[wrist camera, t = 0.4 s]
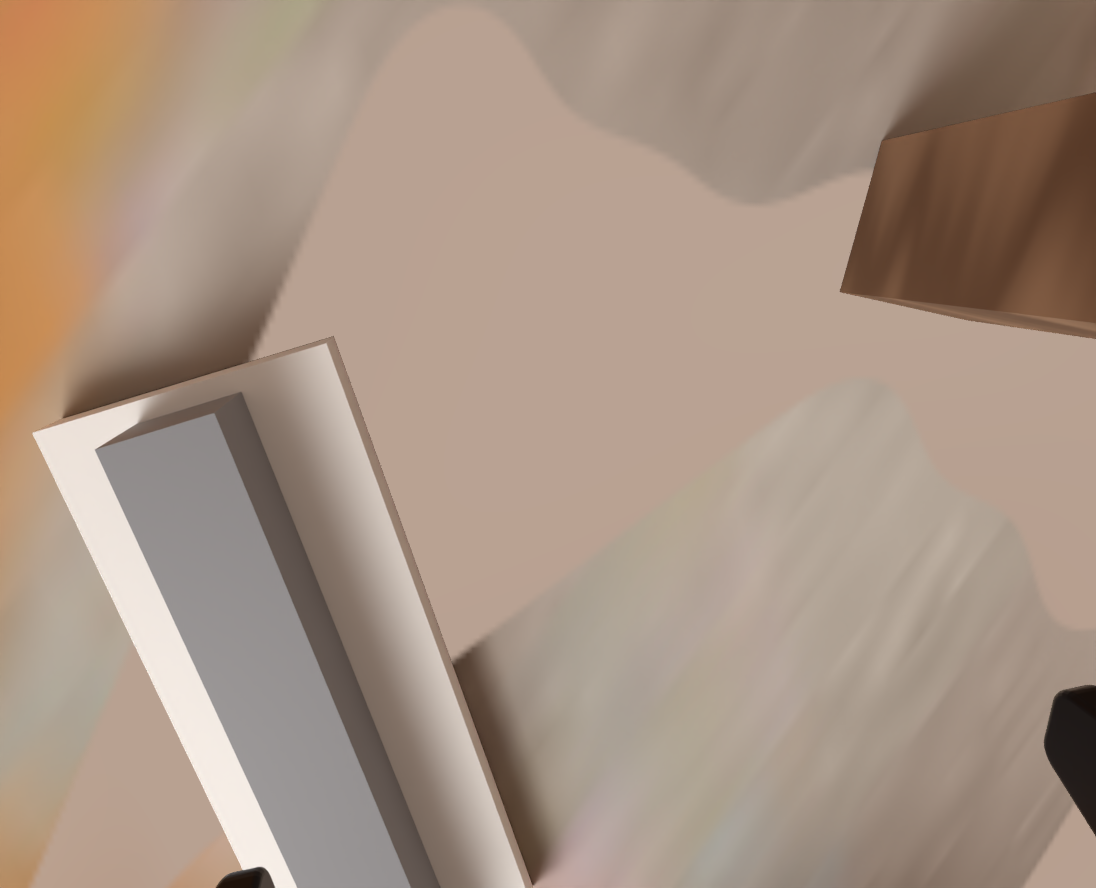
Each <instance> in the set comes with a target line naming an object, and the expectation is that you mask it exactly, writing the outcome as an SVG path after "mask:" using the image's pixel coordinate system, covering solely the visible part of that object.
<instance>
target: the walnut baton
mask: <svg viewBox="0 0 1096 888" xmlns="http://www.w3.org/2000/svg"><path fill="white" fill-rule="evenodd" d="M840 292H842V293H846V294H851V295H855V296H860V297H865V298H870V299H874V300H878V301H883V302H887V303H892V304H896V305H901V306H906V307H910V308H914V309H919V310H924V311H928V312H932V313H937V314H941V315H946V316H951V317H955V318H960V319H964V320H969V321H976V322H984V323H990V324H997V325H1004V326H1010V327H1017V328H1024V329H1031V330H1038V331H1045V332H1052V333H1059V334H1066V335H1072V336H1080V337H1086V338H1093V339H1096V93H1092V94H1087V95H1083V96H1078V97H1074V98H1069V99H1065V100H1061V101H1056V102H1052V103H1047V104H1043V105H1038V106H1034V107H1029V108H1025V109H1021V110H1016V111H1012V112H1007V113H1003V114H998V115H994V116H990V117H985V118H981V119H976V120H972V121H967V122H963V123H959V124H954V125H950V126H945V127H941V128H936V129H932V130H927V131H923V132H919V133H914V134H910V135H905V136H901V137H896V138H892V139H888V140H883V141H882V142H881V146H880V150H879V153H878V157H877V160H876V164H875V167H874V171H873V175H872V178H871V182H870V185H869V189H868V193H867V196H866V200H865V203H864V207H863V210H862V214H861V218H860V221H859V225H858V228H857V232H856V236H855V240H854V243H853V246H852V250H851V254H850V257H849V261H848V264H847V268H846V271H845V275H844V279H843V282H842V286H841V289H840Z"/></svg>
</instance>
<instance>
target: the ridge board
mask: <svg viewBox="0 0 1096 888" xmlns="http://www.w3.org/2000/svg"><path fill="white" fill-rule="evenodd" d="M33 436H34V438H35V440H36V442H37V444H38V446H39V448H40V450H41V452H42V454H43V456H44V458H45V460H46V463H47V465H48V467H49V469H50V471H51V473H52V475H53V477H54V479H55V481H56V483H57V485H58V487H59V489H60V492H61V494H62V496H63V498H64V500H65V502H66V504H67V506H68V508H69V510H70V512H71V514H72V516H73V519H74V521H75V523H76V525H77V527H78V529H79V531H80V533H81V535H82V537H83V539H84V541H85V543H86V545H87V548H88V550H89V552H90V554H91V556H92V558H93V560H94V562H95V564H96V566H97V568H98V570H99V572H100V575H101V577H102V579H103V581H104V583H105V585H106V587H107V589H108V591H109V593H110V595H111V597H112V599H113V601H114V604H115V606H116V608H117V610H118V612H119V614H120V616H121V618H122V620H123V622H124V624H125V626H126V628H127V631H128V633H129V635H130V637H131V639H132V641H133V643H134V645H135V647H136V649H137V651H138V653H139V655H140V657H141V659H142V661H143V664H144V666H145V668H146V670H147V672H148V674H149V676H150V678H151V680H152V682H153V684H154V686H155V689H156V691H157V693H158V694H159V697H160V699H161V701H162V703H163V705H164V707H165V709H166V711H167V713H168V715H169V718H170V720H171V722H172V724H173V726H174V728H175V730H176V732H177V734H178V736H179V738H180V740H181V743H182V745H183V746H184V749H185V751H186V753H187V755H188V757H189V759H190V761H191V763H192V765H193V767H194V770H195V772H196V773H197V775H198V777H199V780H200V782H201V784H202V786H203V788H204V790H205V792H206V794H207V796H208V799H209V801H210V803H211V805H212V807H213V809H214V811H215V813H216V815H217V817H218V819H219V821H220V823H221V826H222V828H223V830H224V832H225V834H226V836H227V838H228V840H229V842H230V844H231V846H232V848H233V850H234V852H235V855H236V857H237V859H238V861H239V863H240V865H241V867H242V869H243V870H246V869H251V868H255V867H264V868H265V869H266V870H267V871H268V872H269V874H270V876H271V878H272V881H273V883H274V886H275V888H533V886H532V883H531V880H530V877H529V874H528V872H527V869H526V866H525V863H524V861H523V858H522V855H521V852H520V850H519V847H518V844H517V841H516V839H515V836H514V833H513V830H512V828H511V825H510V822H509V819H508V816H507V814H506V811H505V808H504V805H503V803H502V800H501V797H500V794H499V792H498V789H497V786H496V783H495V781H494V778H493V775H492V772H491V770H490V767H489V764H488V761H487V758H486V756H485V753H484V750H483V747H482V745H481V742H480V739H479V736H478V734H477V731H476V728H475V725H474V723H473V720H472V717H471V714H470V712H469V709H468V706H467V703H466V700H465V698H464V695H463V692H462V689H461V687H460V684H459V681H458V678H457V676H456V673H455V670H454V667H453V665H452V662H451V659H450V656H449V654H448V651H447V648H446V645H445V643H444V640H443V638H442V634H441V631H440V629H439V626H438V623H437V620H436V618H435V615H434V612H433V609H432V607H431V604H430V601H429V599H428V596H427V593H426V590H425V587H424V584H423V582H422V579H421V576H420V574H419V571H418V568H417V565H416V563H415V560H414V557H413V554H412V551H411V549H410V546H409V543H408V541H407V538H406V535H405V532H404V529H403V527H402V524H401V521H400V518H399V515H398V513H397V510H396V507H395V504H394V502H393V499H392V496H391V493H390V491H389V488H388V485H387V483H386V480H385V477H384V474H383V471H382V468H381V466H380V463H379V460H378V458H377V455H376V452H375V449H374V447H373V444H372V441H371V438H370V435H369V433H368V430H367V427H366V424H365V422H364V419H363V416H362V413H361V410H360V408H359V405H358V402H357V399H356V397H355V394H354V391H353V388H352V386H351V383H350V380H349V377H348V375H347V372H346V369H345V366H344V363H343V361H342V358H341V355H340V352H339V350H338V347H337V344H336V342H335V339H334V336H333V337H329V338H326V339H323V340H319V341H316V342H313V343H310V344H306V345H303V346H300V347H297V348H293V349H290V350H287V351H283V352H280V353H277V354H273V355H270V356H267V357H264V358H261V359H257V360H254V361H250V362H247V363H244V364H241V365H237V366H234V367H231V368H227V369H224V370H221V371H218V372H214V373H211V374H208V375H204V376H201V377H198V378H195V379H191V380H188V381H185V382H181V383H178V384H175V385H172V386H168V387H165V388H162V389H158V390H155V391H152V392H149V393H145V394H142V395H139V396H135V397H132V398H129V399H126V400H122V401H119V402H116V403H112V404H109V405H106V406H103V407H99V408H96V409H93V410H89V411H86V412H83V413H80V414H76V415H73V416H70V417H66V418H63V419H60V420H58V421H56V422H54V423H52V424H50V425H48V426H45V427H43V428H41V429H39V430H37V431H35V432H33Z"/></svg>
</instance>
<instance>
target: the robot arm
mask: <svg viewBox="0 0 1096 888" xmlns="http://www.w3.org/2000/svg"><path fill="white" fill-rule="evenodd" d="M1044 748H1045V751H1046V755H1047V757H1048V760H1049V762H1050V764H1051V765H1052V767H1053V769H1054V770H1055V772H1056V773H1057V775H1058V777H1059V778H1060V780H1061V781H1062V783H1063V785H1064V786H1065V788H1066V789H1067V791H1068V793H1069V794H1070V796H1071V797H1072V799H1073V801H1074V802H1075V804H1076V805H1077V807H1078V808H1079V810H1080V812H1081V813H1082V815H1083V816H1084V818H1085V819H1086V821H1087V823H1088V824H1089V826H1090V828H1091V829H1092V831H1093V832H1094V834H1095V836H1096V686H1094V685H1084V686H1080V687H1075V688H1071V689H1066V690H1062V691H1060V692H1059V693H1058V694H1056V696H1055V697H1054V700H1053V704H1052V708H1051V712H1050V716H1049V721H1048V725H1047V729H1046V733H1045V737H1044ZM216 888H275V886H274V883H273V881H272V878H271V876H270V874H269V872H268V871H267V870H266V869H265V868H264V867H255V868H251V869H246V870H242V871H237V872H233V873H230V874H228V875H226V876H225V877H224V878H223V879H222V880H221V881H220V882H219V884H218V885H217V887H216Z"/></svg>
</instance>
